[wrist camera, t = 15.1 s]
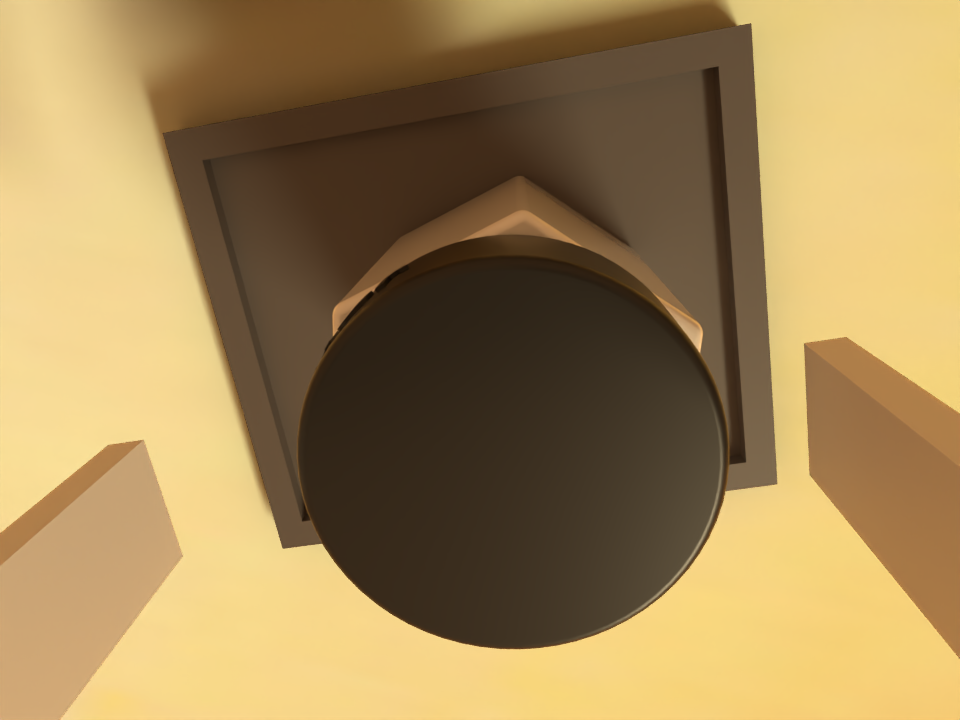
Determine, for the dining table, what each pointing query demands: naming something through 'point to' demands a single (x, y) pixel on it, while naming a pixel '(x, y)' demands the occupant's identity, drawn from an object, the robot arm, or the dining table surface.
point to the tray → (462, 177)
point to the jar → (513, 428)
